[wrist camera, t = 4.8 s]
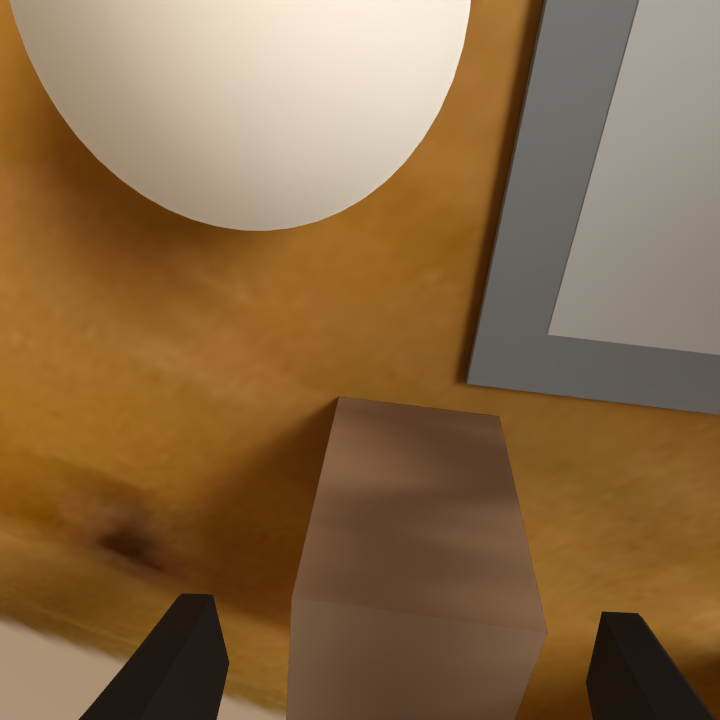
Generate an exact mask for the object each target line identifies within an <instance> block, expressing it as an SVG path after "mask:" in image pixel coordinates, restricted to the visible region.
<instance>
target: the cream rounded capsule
mask: <svg viewBox="0 0 720 720" xmlns="http://www.w3.org/2000/svg"><path fill="white" fill-rule="evenodd" d="M470 3H471V0H10V4H11V8H12V12H13V16H14V19H15V22H16V25H17V28H18V30H19V33H20V36H21V39H22V41H23V44H24V47H25V50H26V52H27V54H28V56H29V58H30V61H31V63H32V65H33V67H34V69H35V71H36V73H37V75H38V77H39V79H40V82H41V83H42V85H43V87H44V88H45V90H46V92H47V93H48V95H49V97H50V98H51V100H52V102H53V103H54V105H55V107H56V108H57V110H58V112H59V113H60V114H61V116H62V117H63V118H64V120H65V121H66V122H67V124H68V125H69V126H70V128H71V129H72V130H73V132H74V133H75V135H76V136H77V137H78V138H79V139H80V140H81V141H82V143H83V144H84V145H85V146H86V147H87V148H88V149H89V150H90V151H91V152H92V154H93V155H94V156H95V157H96V158H97V159H98V160H99V161H100V162H101V163H102V164H104V165H105V166H106V167H107V168H108V169H109V170H110V171H111V172H112V173H114V174H115V175H116V176H117V177H118V178H119V179H120V180H122V181H123V182H125V183H126V184H127V185H129V186H130V187H132V188H133V189H134V190H136V191H137V192H138V193H140V194H141V195H143V196H144V197H146V198H148V199H150V200H152V201H153V202H155V203H157V204H159V205H160V206H162V207H164V208H166V209H168V210H170V211H173V212H175V213H177V214H180V215H182V216H184V217H187V218H189V219H192V220H195V221H199V222H202V223H206V224H209V225H213V226H216V227H223V228H230V229H236V230H251V231H270V230H279V229H287V228H294V227H298V226H302V225H306V224H309V223H313V222H317V221H320V220H322V219H324V218H327V217H329V216H332V215H334V214H337V213H339V212H341V211H343V210H345V209H347V208H348V207H350V206H352V205H353V204H355V203H357V202H359V201H360V200H362V199H364V198H365V197H366V196H368V195H369V194H370V193H372V192H373V191H374V190H375V189H377V188H378V187H379V186H381V185H382V184H383V183H384V182H386V181H387V180H388V179H389V178H390V177H391V176H392V175H393V174H394V173H395V172H396V171H397V170H398V169H399V168H400V167H401V166H402V164H403V163H404V162H405V161H406V160H407V159H408V158H409V156H410V155H411V154H412V152H413V151H414V150H415V148H416V147H417V146H418V145H419V143H420V142H421V141H422V139H423V138H424V136H425V135H426V133H427V131H428V130H429V128H430V126H431V124H432V123H433V121H434V119H435V118H436V116H437V114H438V113H439V111H440V109H441V106H442V104H443V102H444V100H445V97H446V95H447V93H448V90H449V88H450V86H451V83H452V81H453V78H454V75H455V72H456V69H457V65H458V62H459V59H460V55H461V52H462V49H463V45H464V40H465V34H466V29H467V23H468V18H469V12H470Z"/></svg>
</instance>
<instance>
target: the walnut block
mask: <svg viewBox="0 0 720 720" xmlns="http://www.w3.org/2000/svg"><path fill="white" fill-rule="evenodd" d="M547 633H548V632H547V627H546V623H545V618H544V614H543V610H542V605H541V601H540V596H539V592H538V587H537V583H536V578H535V574H534V569H533V565H532V560H531V556H530V552H529V547H528V543H527V538H526V534H525V529H524V525H523V520H522V516H521V511H520V507H519V502H518V498H517V493H516V489H515V485H514V480H513V476H512V471H511V467H510V462H509V458H508V453H507V449H506V444H505V440H504V435H503V431H502V427H501V422H500V418H499V416H492V415H484V414H476V413H468V412H460V411H452V410H444V409H436V408H428V407H420V406H412V405H404V404H396V403H388V402H380V401H372V400H363V399H355V398H347V397H339V398H338V403H337V407H336V411H335V415H334V420H333V424H332V428H331V432H330V437H329V441H328V445H327V449H326V454H325V458H324V462H323V466H322V471H321V475H320V479H319V483H318V488H317V492H316V496H315V500H314V505H313V509H312V513H311V517H310V522H309V526H308V530H307V534H306V539H305V543H304V547H303V551H302V556H301V560H300V564H299V568H298V573H297V577H296V581H295V585H294V590H293V594H292V602H291V625H290V647H289V670H288V693H287V715H286V720H515V717H516V714H517V712H518V709H519V706H520V704H521V701H522V699H523V696H524V693H525V691H526V688H527V686H528V683H529V680H530V678H531V675H532V672H533V670H534V667H535V665H536V662H537V659H538V657H539V654H540V652H541V649H542V646H543V644H544V641H545V639H546V636H547Z"/></svg>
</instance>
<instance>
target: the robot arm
mask: <svg viewBox="0 0 720 720" xmlns="http://www.w3.org/2000/svg"><path fill="white" fill-rule="evenodd" d="M228 666H229V660H228V656H227V651H226V647H225V643H224V639H223V635H222V631H221V627H220V623H219V619H218V614H217V610H216V606H215V602H214V598H213V595H206V594H183V593H182V594H181V595H180V596H179V597H178V598H177V599H176V600H175V602H174V603H173V604H172V605H171V607H170V608H169V609H168V611H167V612H166V613H165V615H164V616H163V617H162V618H161V620H160V621H159V622H158V624H157V625H156V626H155V628H154V629H153V630H152V631H151V633H150V634H149V635H148V636H147V638H146V639H145V640H144V642H143V643H142V644H141V645H140V647H139V648H138V649H137V650H136V652H135V653H134V654H133V655H132V657H131V658H130V659H129V660H128V662H127V663H126V664H125V665H124V667H123V668H122V669H121V670H120V671H119V673H118V674H117V675H116V676H115V677H114V679H113V680H112V681H111V682H110V683H109V685H108V686H107V687H106V688H105V689H104V691H103V692H102V693H101V694H100V695H99V697H98V698H97V699H96V700H95V701H94V703H93V704H92V705H91V706H90V707H89V709H88V710H87V711H86V712H85V713H84V714H83V715H82V716H81V717H80V719H79V720H216V719H217V715H218V711H219V706H220V702H221V698H222V694H223V689H224V685H225V680H226V675H227V671H228ZM586 685H587V691H588V696H589V701H590V706H591V712H592V717H593V720H716V719H715V717H714V716H713V715H712V713H711V712H710V711H709V709H708V708H707V707H706V705H705V704H704V703H703V701H702V700H701V699H700V698H699V696H698V695H697V693H696V692H695V691H694V689H693V688H692V687H691V685H690V684H689V683H688V681H687V680H686V678H685V677H684V676H683V674H682V673H681V672H680V670H679V669H678V668H677V666H676V665H675V663H674V662H673V661H672V659H671V658H670V656H669V655H668V654H667V652H666V651H665V649H664V648H663V646H662V645H661V644H660V642H659V641H658V639H657V638H656V636H655V635H654V634H653V632H652V631H651V629H650V628H649V626H648V625H647V623H646V622H645V621H644V619H643V618H642V617H641V616H640V615H639V614H638V613H621V612H602V614H601V619H600V623H599V627H598V632H597V636H596V641H595V645H594V649H593V654H592V658H591V663H590V667H589V671H588V676H587V680H586Z"/></svg>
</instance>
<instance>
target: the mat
mask: <svg viewBox="0 0 720 720" xmlns="http://www.w3.org/2000/svg"><path fill="white" fill-rule="evenodd" d="M466 380H467V384H471V385H479V386H487V387H495V388H503V389H511V390H520V391H528V392H536V393H544V394H552V395H561V396H569V397H577V398H585V399H593V400H602V401H610V402H618V403H626V404H634V405H643V406H651V407H659V408H667V409H675V410H684V411H692V412H700V413H708V414H716V415H720V0H544V2H543V7H542V12H541V17H540V22H539V27H538V31H537V36H536V41H535V46H534V51H533V56H532V60H531V65H530V70H529V75H528V80H527V85H526V90H525V94H524V99H523V104H522V109H521V114H520V119H519V124H518V128H517V133H516V138H515V143H514V148H513V153H512V157H511V162H510V167H509V172H508V177H507V182H506V187H505V191H504V196H503V201H502V206H501V211H500V216H499V221H498V225H497V230H496V235H495V240H494V245H493V250H492V254H491V259H490V264H489V269H488V274H487V279H486V284H485V288H484V293H483V298H482V303H481V308H480V313H479V318H478V322H477V327H476V332H475V337H474V342H473V347H472V351H471V356H470V361H469V366H468V371H467V376H466Z"/></svg>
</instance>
